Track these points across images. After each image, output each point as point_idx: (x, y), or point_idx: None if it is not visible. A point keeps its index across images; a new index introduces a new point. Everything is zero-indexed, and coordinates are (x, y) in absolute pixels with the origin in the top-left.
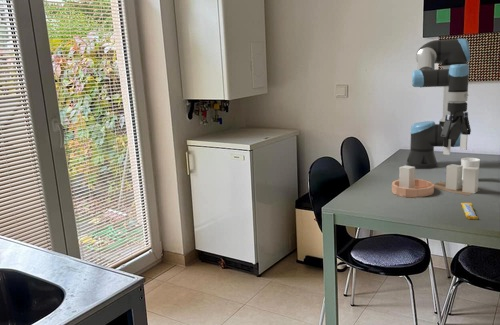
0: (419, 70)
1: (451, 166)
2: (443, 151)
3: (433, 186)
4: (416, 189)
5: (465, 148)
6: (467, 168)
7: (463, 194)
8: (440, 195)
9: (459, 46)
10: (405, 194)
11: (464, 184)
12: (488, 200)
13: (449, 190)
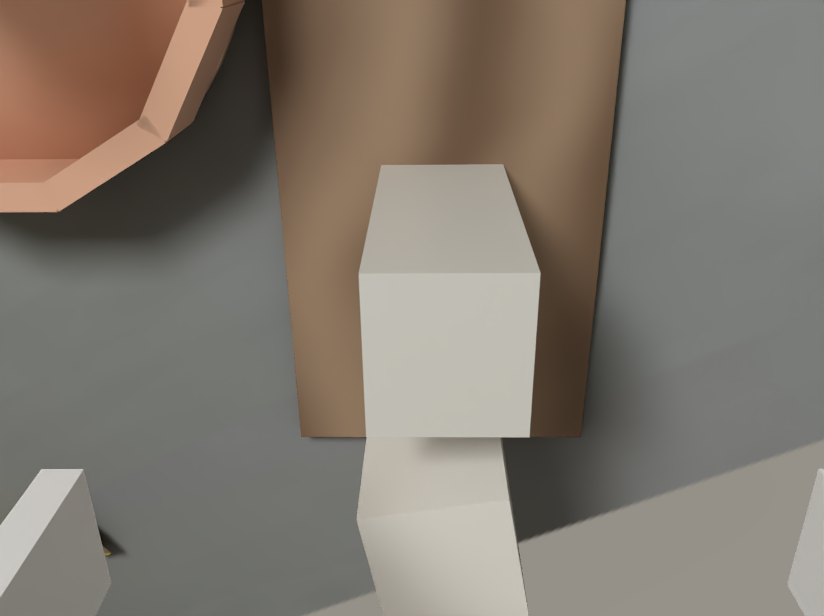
0: None
1: (373, 347)
2: (12, 517)
3: (47, 211)
4: None
5: (807, 599)
6: (406, 545)
7: (300, 397)
8: (148, 236)
9: None
10: None
11: None
12: (331, 564)
13: (326, 242)
